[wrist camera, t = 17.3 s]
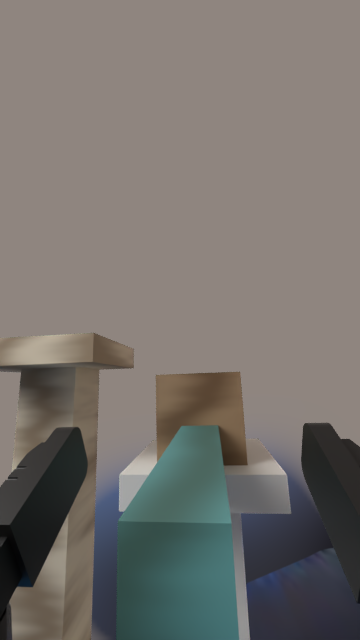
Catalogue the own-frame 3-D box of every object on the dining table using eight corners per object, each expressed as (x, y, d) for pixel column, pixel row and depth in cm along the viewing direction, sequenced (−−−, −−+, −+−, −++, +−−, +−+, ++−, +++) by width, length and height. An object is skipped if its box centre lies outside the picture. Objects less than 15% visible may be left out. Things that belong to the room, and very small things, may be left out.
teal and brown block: (34, 655, 6) (54, 365, 7) (171, 442, 25) (170, 376, 26) (336, 678, 5) (295, 354, 6) (237, 441, 24) (232, 373, 26)
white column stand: (111, 1062, 12) (119, 474, 17) (157, 752, 21) (153, 440, 26) (357, 1120, 11) (286, 474, 16) (288, 767, 20) (258, 438, 25)
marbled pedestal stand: (-169, 997, 13) (-62, 341, 20) (-7, 735, 23) (27, 354, 30) (67, 1052, 12) (93, 332, 19) (132, 750, 22) (133, 348, 29)
